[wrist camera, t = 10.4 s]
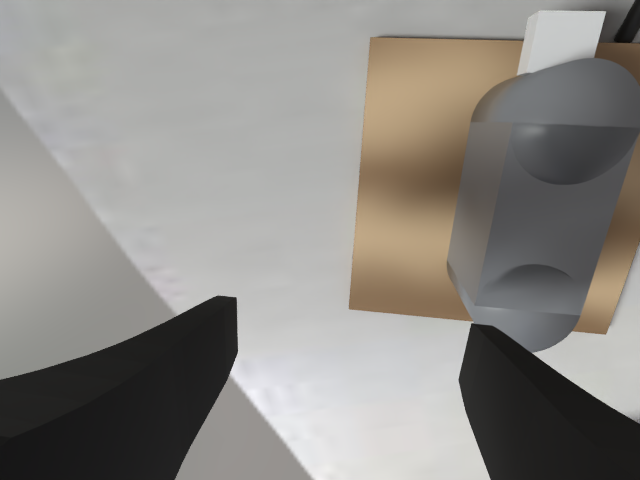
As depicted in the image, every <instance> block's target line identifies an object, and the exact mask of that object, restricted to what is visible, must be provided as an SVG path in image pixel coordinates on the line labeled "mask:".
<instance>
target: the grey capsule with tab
mask: <svg viewBox="0 0 640 480" xmlns="http://www.w3.org/2000/svg"><path fill="white" fill-rule="evenodd" d="M605 14H606V11H538V12H537V13H535V14H533V15H532V16H530V17H529V18H528V22H527V27H526V32H525V37H524V42H523V47H522V52H521V57H520V62H519V67H518V72H517V76H518V77H515V78H512V79H508V80H505V81H503V82H501V83H499V84H497V85H496V86H494V87H493V88H491V89H490V90H489V91H488V92H487V93H486V94H485V95H484V96H483V97H482V98H481V99H480V101H479V102H478V104H477V105H476V107H475V109H474V112H473V114H472V118H471V122H470V128H469V133H468V139H467V145H466V151H465V157H464V163H463V169H462V175H461V180H460V186H459V192H458V198H457V204H456V210H455V216H454V222H453V227H452V233H451V239H450V245H449V251H448V257H447V272H448V275H449V278H450V280H451V281H452V283H453V285H454V287H455V289H456V291H457V292H458V294H459V296H460V298H461V300H462V302H463V303H464V305H465V307H466V309H467V311H468V313H469V314H470V316H471V318H472V320H473V322H474V324H483V325H492V326H494V327H496V328H498V329H499V330H501V331H502V332H504V333H505V334H506V335H508V336H509V337H511V338H512V339H513V340H515V341H516V342H517V343H519V344H520V345H521V346H523V347H524V348H525V349H527V350H528V351H530V352H531V353H533V352H538V351H542V350H545V349H547V348H550V347H552V346H554V345H556V344H557V343H559V342H560V341H562V340H563V339H564V338H566V337H567V336H568V335H569V334H570V333H571V332H572V330H573V329H574V328H575V326H576V324H577V323H578V321H579V318H580V316H581V313H582V310H583V307H584V303H585V300H586V297H587V294H588V291H589V288H590V285H591V282H592V279H593V276H594V272H595V269H596V266H597V263H598V260H599V257H600V254H601V251H602V248H603V244H604V241H605V238H606V235H607V232H608V229H609V226H610V223H611V220H612V216H613V213H614V210H615V207H616V204H617V201H618V198H619V195H620V192H621V189H622V185H623V182H624V179H625V176H626V173H627V170H628V167H629V164H630V161H631V157H632V154H633V151H634V148H635V145H636V142H637V139H638V136H639V133H640V86H639V84H638V82H637V81H636V79H635V78H634V77H633V75H632V74H631V73H630V72H629V71H628V70H626V69H625V68H624V67H622V66H621V65H619V64H617V63H615V62H612V61H609V60H605V59H599V58H594V56H595V52H596V48H597V44H598V40H599V37H600V33H601V29H602V25H603V21H604V18H605Z"/></svg>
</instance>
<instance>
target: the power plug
mask: <svg viewBox="0 0 640 480" xmlns="http://www.w3.org/2000/svg"><path fill="white" fill-rule="evenodd" d="M639 28H640V0H635V2H634V4H633V5H632V7H631V9H630V11H629V13H628V15H627V16H626V18H625V20H624V22H623V24H622V25H621V27H620V29H619V31H618V33H617V35H616V36H615V38H614V41H615V42H617V43H631V42H632V40H633V39H634V37H635V35H636V33H637V32H638V30H639Z"/></svg>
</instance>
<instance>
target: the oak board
mask: <svg viewBox="0 0 640 480" xmlns="http://www.w3.org/2000/svg"><path fill="white" fill-rule="evenodd" d="M523 42H524V41H508V40H465V39H421V38H378V37H370V50H369V62H368V75H367V87H366V100H365V113H364V125H363V138H362V150H361V163H360V175H359V188H358V200H357V213H356V225H355V238H354V250H353V263H352V275H351V288H350V300H349V309H352V310H362V311H372V312H383V313H393V314H403V315H413V316H423V317H433V318H443V319H454V320H464V321H473V320H472V318H471V316H470V314H469V313H468V311H467V309H466V307H465V305H464V303H463V302H462V300H461V298H460V296H459V294H458V292H457V291H456V289H455V287H454V285H453V283H452V281H451V280H450V278H449V275H448V272H447V257H448V251H449V245H450V239H451V233H452V227H453V222H454V216H455V210H456V204H457V198H458V192H459V186H460V180H461V175H462V169H463V163H464V157H465V151H466V145H467V139H468V133H469V128H470V122H471V118H472V114H473V112H474V109H475V107H476V105H477V104H478V102H479V101H480V99H481V98H482V97H483V96H484V95H485V94H486V93H487V92H488V91H489V90H490V89H491V88H493V87H494V86H496V85H497V84H499V83H501V82H503V81H505V80H508V79H512V78H515V77H518V76H517V72H518V67H519V62H520V57H521V52H522V47H523ZM594 58H599V59H605V60H609V61H612V62H615V63H617V64H619V65H621V66H622V67H624V68H625V69H626V70H628V71H629V72H630V73H631V74H632V75H633V77H634V78H635V79H636V81H637V82H638V84H639V86H640V44H639V43H598V44H597V48H596V52H595V56H594ZM639 242H640V133H639V136H638V139H637V142H636V145H635V148H634V151H633V154H632V157H631V161H630V164H629V167H628V170H627V173H626V176H625V179H624V182H623V185H622V189H621V192H620V195H619V198H618V201H617V204H616V207H615V210H614V213H613V216H612V220H611V223H610V226H609V229H608V232H607V235H606V238H605V241H604V244H603V248H602V251H601V254H600V257H599V260H598V263H597V266H596V269H595V272H594V276H593V279H592V282H591V285H590V288H589V291H588V294H587V297H586V300H585V303H584V307H583V310H582V313H581V316H580V318H579V321H578V323H577V324H576V326H575V328H574V329H573V330H572V331H575V332H585V333H596V334H606V333H607V330H608V328H609V325H610V322H611V319H612V317H613V314H614V311H615V308H616V305H617V303H618V300H619V297H620V294H621V292H622V289H623V286H624V283H625V280H626V278H627V275H628V272H629V269H630V267H631V264H632V261H633V258H634V255H635V253H636V250H637V247H638V244H639Z"/></svg>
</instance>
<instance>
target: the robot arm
mask: <svg viewBox="0 0 640 480" xmlns="http://www.w3.org/2000/svg"><path fill="white" fill-rule="evenodd" d="M237 353H238V337H237V298H236V297H227V296H216V297H213V298H211V299H209V300H207V301H205V302H203V303H201V304H199V305H197V306H195V307H193V308H191V309H190V310H188V311H186V312H184V313H182V314H180V315H178V316H176V317H174V318H172V319H171V320H168V321H167V322H165V323H162V324H160V325H158V326H156V327H154V328H152V329H150V330H148V331H145V332H143V333H141V334H139V335H137V336H135V337H133V338H130V339H128V340H126V341H123V342H121V343H118V344H116V345H113V346H111V347H108V348H105V349H103V350H100V351H97V352H95V353H92V354H89V355H87V356H83V357H80V358H77V359H73V360H70V361H67V362H64V363H61V364H58V365H54V366H51V367H48V368H45V369H41V370H38V371H34V372H30V373H26V374H22V375H18V376H14V377H10V378H6V379H2V380H0V480H175V478H176V476H177V473H178V471H179V469H180V467H181V464H182V462H183V460H184V458H185V456H186V454H187V452H188V450H189V448H190V446H191V444H192V443H193V441H194V439H195V437H196V435H197V434H198V432H199V430H200V428H201V426H202V425H203V423H204V421H205V419H206V417H207V415H208V414H209V412H210V410H211V409H212V407H213V405H214V403H215V401H216V399H217V398H218V396H219V393H220V392H221V390H222V389H223V387H224V385H225V383H226V381H227V379H228V376H229V374H230V371H231V369H232V366H233V364H234V361H235V358H236V356H237ZM459 384H460V388H461V393H462V398H463V402H464V406H465V410H466V414H467V416H468V419H469V422H470V425H471V428H472V430H473V433H474V436H475V439H476V441H477V444H478V447H479V449H480V452H481V455H482V457H483V460H484V463H485V465H486V468H487V471H488V473H489V476H490V479H491V480H640V424H639V423H637V422H635V421H633V420H632V419H630V418H628V417H627V416H625V415H623V414H622V413H620V412H618V411H616V410H615V409H613V408H611V407H610V406H608V405H606V404H605V403H603V402H602V401H600V400H598V399H597V398H595V397H594V396H592V395H591V394H589V393H588V392H586V391H585V390H583V389H582V388H580V387H579V386H577V385H576V384H574V383H573V382H571V381H570V380H568V379H567V378H565V377H564V376H563V375H561V374H560V373H558V372H557V371H556V370H554V369H553V368H551V367H550V366H549V365H547V364H546V363H544V362H543V361H542V360H540V359H539V358H538V357H536V356H535V355H534V354H532V353H531V352H530V351H528V350H527V349H525V348H524V347H523V346H521V345H520V344H519V343H517V342H516V341H515V340H513V339H512V338H511V337H509V336H508V335H506V334H505V333H504V332H502V331H501V330H499V329H498V328H496V327H494V326H492V325H483V324H473V323H471V328H470V332H469V336H468V341H467V345H466V350H465V354H464V358H463V363H462V367H461V371H460V376H459Z"/></svg>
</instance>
